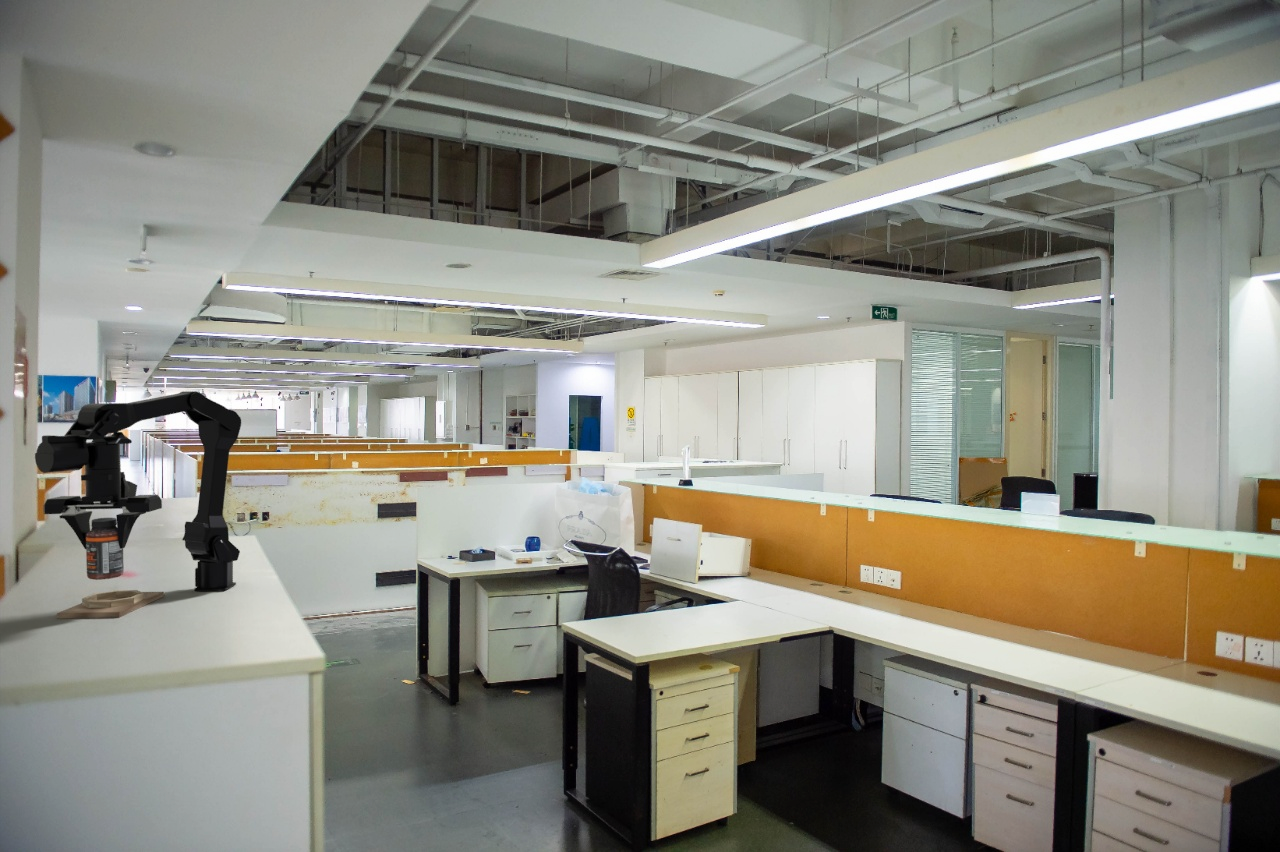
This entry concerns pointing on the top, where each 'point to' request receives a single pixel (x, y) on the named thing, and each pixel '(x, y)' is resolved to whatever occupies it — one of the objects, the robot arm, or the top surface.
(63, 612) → the wooden board with rim
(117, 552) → the supplement bottle
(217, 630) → the top surface
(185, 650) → the top surface
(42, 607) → the top surface
